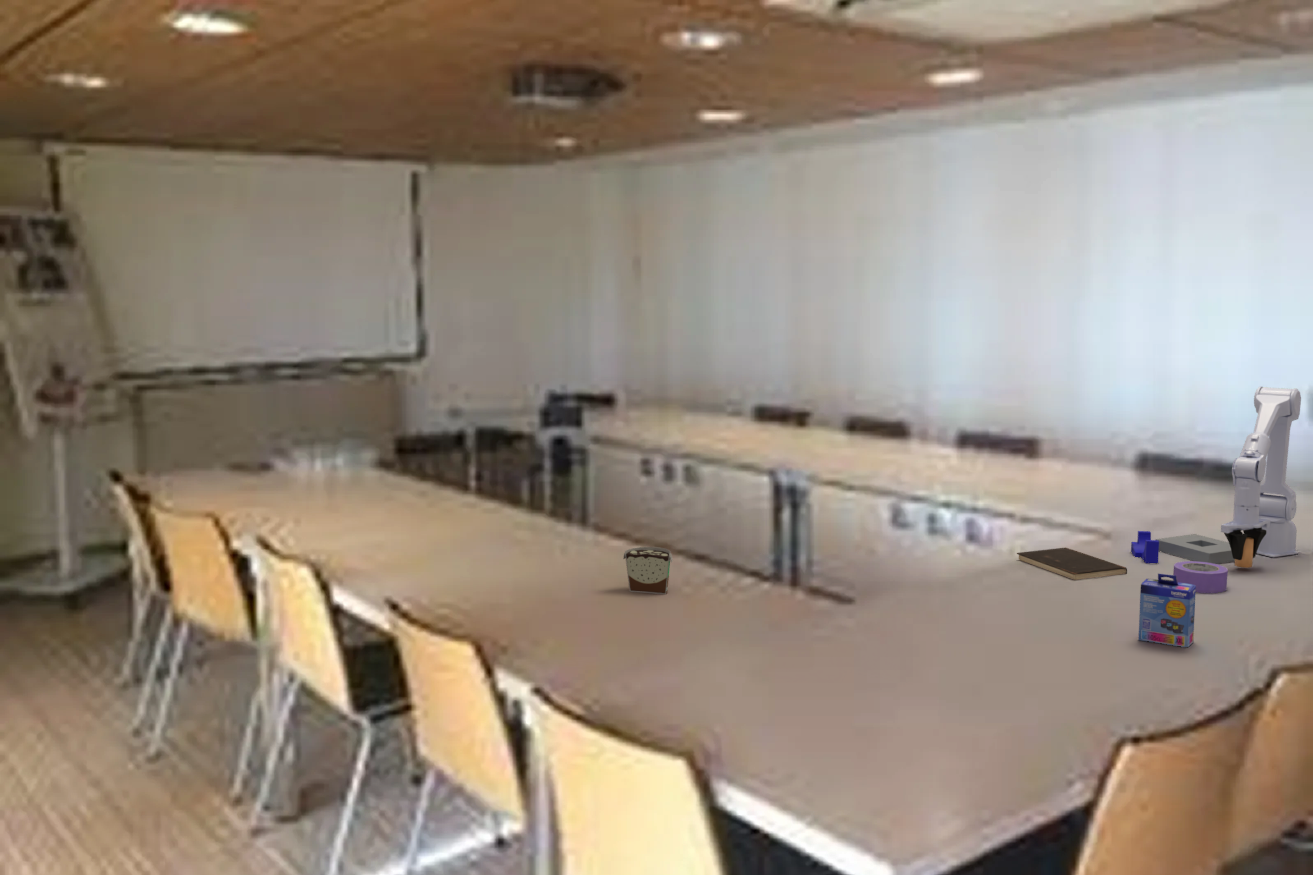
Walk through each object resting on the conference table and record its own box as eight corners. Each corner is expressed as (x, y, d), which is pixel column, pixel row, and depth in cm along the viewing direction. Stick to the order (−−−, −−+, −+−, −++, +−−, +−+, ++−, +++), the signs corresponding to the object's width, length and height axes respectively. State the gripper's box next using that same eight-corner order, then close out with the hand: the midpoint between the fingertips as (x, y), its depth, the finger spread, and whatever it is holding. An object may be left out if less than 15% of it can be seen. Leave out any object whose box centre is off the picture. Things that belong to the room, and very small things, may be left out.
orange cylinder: (1242, 563, 309) (1244, 535, 308) (1256, 566, 305) (1257, 539, 304) (1231, 564, 307) (1232, 537, 306) (1244, 568, 304) (1245, 540, 303)
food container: (680, 588, 298) (679, 548, 296) (672, 594, 292) (671, 554, 291) (632, 584, 302) (631, 545, 300) (623, 591, 296) (623, 550, 295)
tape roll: (1226, 583, 294) (1227, 563, 294) (1226, 596, 284) (1227, 575, 283) (1173, 579, 299) (1174, 559, 299) (1171, 591, 289) (1172, 570, 288)
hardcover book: (1073, 582, 299) (1074, 573, 299) (1016, 561, 321) (1016, 552, 320) (1127, 576, 304) (1127, 567, 304) (1067, 555, 326) (1067, 547, 325)
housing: (1194, 544, 333) (1194, 533, 333) (1249, 559, 317) (1249, 547, 316) (1154, 550, 328) (1155, 539, 327) (1208, 565, 311) (1209, 553, 311)
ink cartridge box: (1136, 641, 252) (1139, 572, 250) (1143, 634, 256) (1146, 566, 254) (1188, 649, 246) (1191, 578, 244) (1194, 641, 251) (1197, 572, 248)
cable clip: (1130, 552, 326) (1131, 530, 325) (1148, 553, 325) (1149, 531, 324) (1139, 563, 315) (1140, 541, 314) (1158, 564, 314) (1159, 541, 313)
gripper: (1238, 510, 298) (1235, 564, 300) (1281, 504, 303) (1278, 558, 305) (1215, 505, 304) (1212, 558, 306) (1257, 499, 310) (1254, 552, 312)
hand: (1243, 558), depth 306 cm, fingers closed on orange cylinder, 4 cm apart
